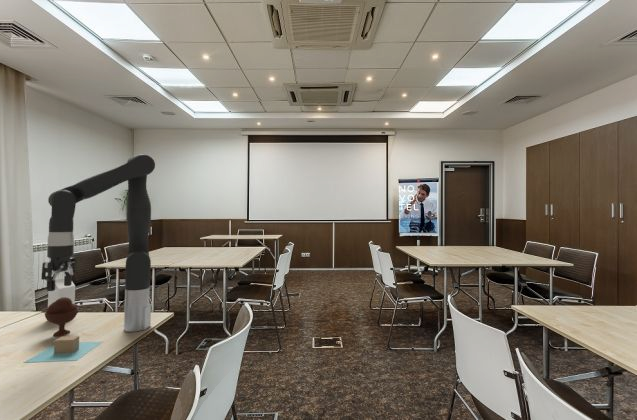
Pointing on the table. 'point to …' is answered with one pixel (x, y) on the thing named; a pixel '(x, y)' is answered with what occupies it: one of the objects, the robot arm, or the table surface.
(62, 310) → the ice cream bowl
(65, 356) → the teal square mat
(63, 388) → the table surface
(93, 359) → the table surface
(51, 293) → the milk carton
